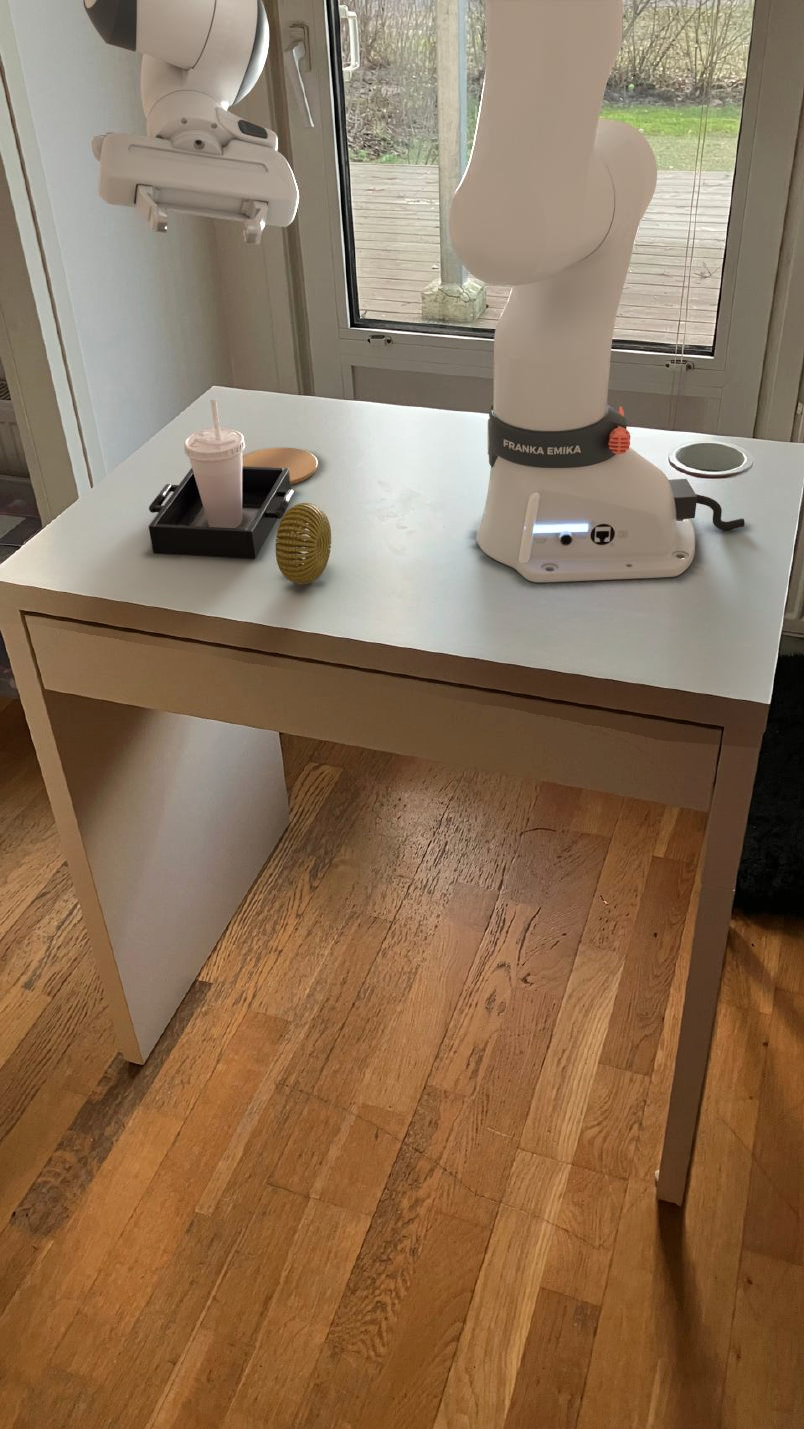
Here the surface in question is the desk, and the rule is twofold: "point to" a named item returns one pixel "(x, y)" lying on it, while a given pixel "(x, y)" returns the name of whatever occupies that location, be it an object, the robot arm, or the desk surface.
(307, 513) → the sculpture
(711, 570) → the desk surface
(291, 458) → the cork pad
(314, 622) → the desk surface
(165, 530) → the pan
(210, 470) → the smoothie
